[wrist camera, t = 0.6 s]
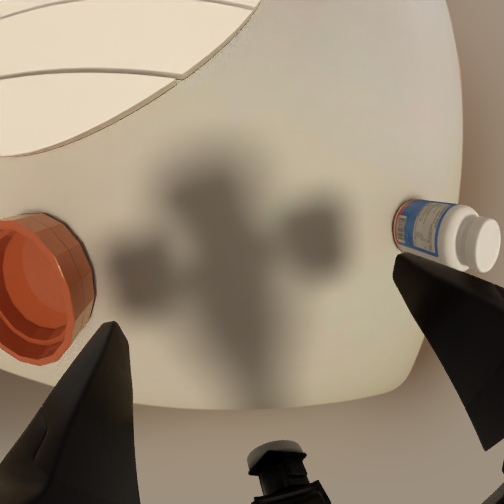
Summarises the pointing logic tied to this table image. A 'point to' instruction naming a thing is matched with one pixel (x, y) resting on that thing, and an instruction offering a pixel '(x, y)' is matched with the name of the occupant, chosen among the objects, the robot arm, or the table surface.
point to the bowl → (41, 288)
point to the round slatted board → (99, 61)
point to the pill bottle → (447, 234)
